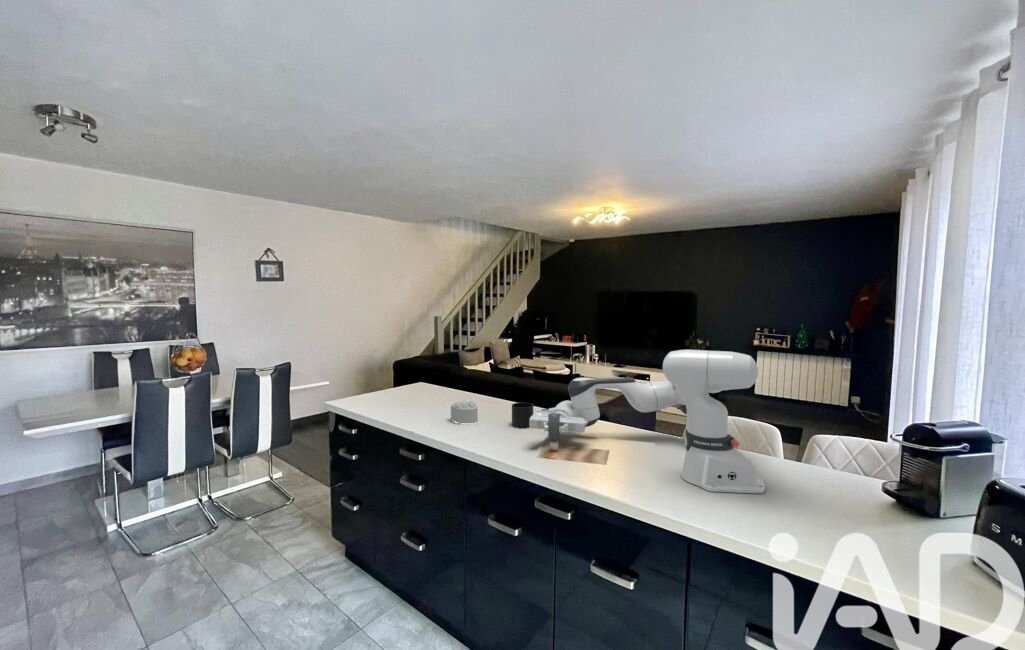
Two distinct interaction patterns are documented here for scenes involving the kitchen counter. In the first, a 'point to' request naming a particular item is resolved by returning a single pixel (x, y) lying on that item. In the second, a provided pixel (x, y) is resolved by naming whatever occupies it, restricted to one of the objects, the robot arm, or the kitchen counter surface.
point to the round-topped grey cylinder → (553, 430)
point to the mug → (521, 414)
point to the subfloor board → (575, 454)
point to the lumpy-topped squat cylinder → (464, 412)
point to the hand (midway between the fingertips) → (553, 429)
